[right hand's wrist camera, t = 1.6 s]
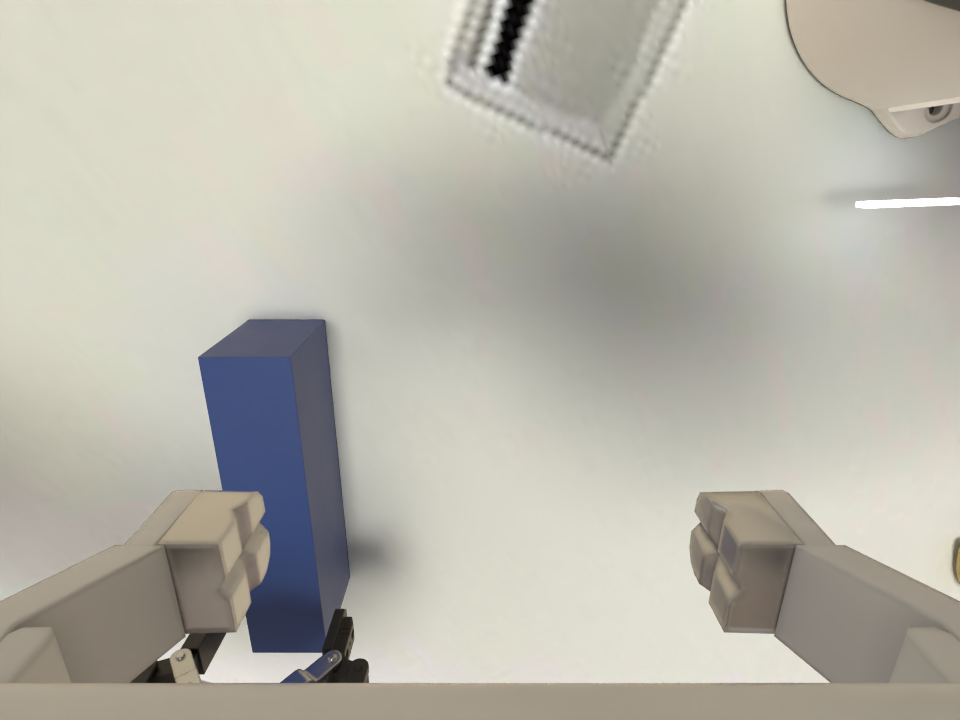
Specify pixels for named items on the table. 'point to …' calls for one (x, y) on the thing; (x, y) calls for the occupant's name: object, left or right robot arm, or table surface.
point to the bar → (283, 472)
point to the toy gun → (958, 565)
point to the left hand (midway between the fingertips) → (282, 617)
